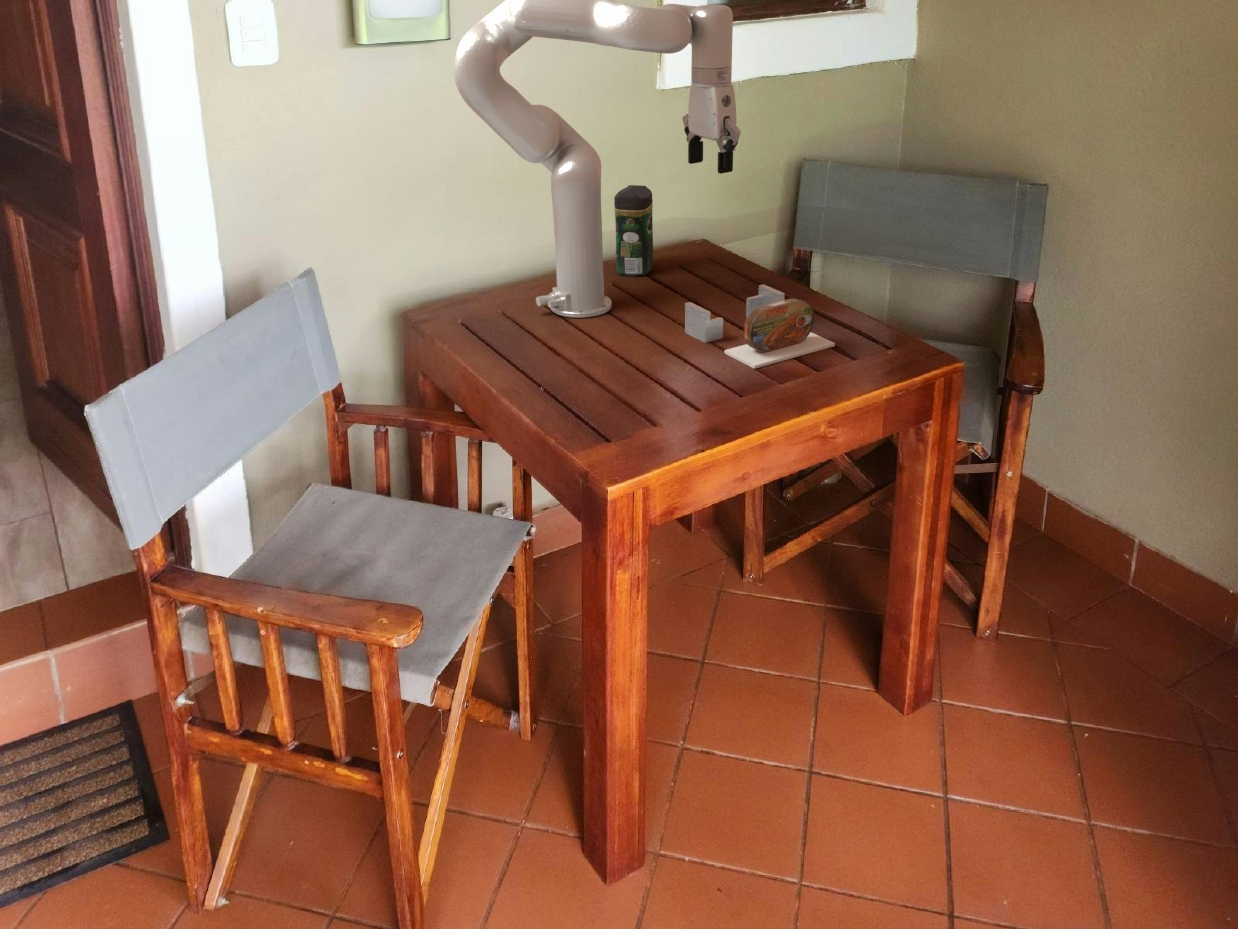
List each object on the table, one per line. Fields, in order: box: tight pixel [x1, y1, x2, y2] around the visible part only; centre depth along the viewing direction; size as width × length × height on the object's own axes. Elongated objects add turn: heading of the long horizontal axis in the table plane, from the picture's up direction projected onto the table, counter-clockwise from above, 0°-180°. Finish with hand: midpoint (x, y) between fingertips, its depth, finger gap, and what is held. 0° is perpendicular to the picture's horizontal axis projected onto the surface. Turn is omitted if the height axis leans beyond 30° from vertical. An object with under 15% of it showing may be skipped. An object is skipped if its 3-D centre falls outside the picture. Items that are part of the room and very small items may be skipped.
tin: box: [743, 298, 815, 353], centre depth 217 cm, size 15×3×8 cm, turn 121°
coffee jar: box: [613, 184, 655, 277], centre depth 258 cm, size 10×8×19 cm
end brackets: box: [684, 284, 785, 344], centre depth 228 cm, size 7×19×6 cm, turn 122°
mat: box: [723, 331, 836, 369], centre depth 219 cm, size 19×9×1 cm, turn 122°
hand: (710, 167), depth 228 cm, fingers open, 9 cm apart
